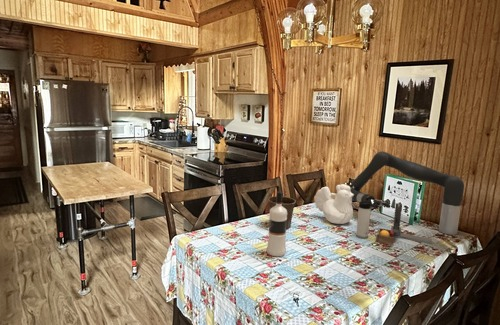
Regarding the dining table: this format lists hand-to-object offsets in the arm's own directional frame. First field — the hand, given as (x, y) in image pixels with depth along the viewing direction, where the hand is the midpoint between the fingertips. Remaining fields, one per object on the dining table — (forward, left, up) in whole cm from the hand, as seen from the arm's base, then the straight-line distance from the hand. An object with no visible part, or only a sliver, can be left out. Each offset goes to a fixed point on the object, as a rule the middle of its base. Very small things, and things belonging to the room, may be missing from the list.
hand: (383, 206), depth 187 cm
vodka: (+63, -43, -14) cm, 77 cm away
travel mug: (+19, -9, -14) cm, 25 cm away
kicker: (+13, +8, -13) cm, 20 cm away
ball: (+17, +2, -11) cm, 20 cm away
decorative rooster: (+1, -29, -14) cm, 32 cm away
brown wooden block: (+17, +3, -13) cm, 22 cm away
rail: (+8, +14, -13) cm, 21 cm away
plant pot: (+28, -54, -14) cm, 62 cm away
